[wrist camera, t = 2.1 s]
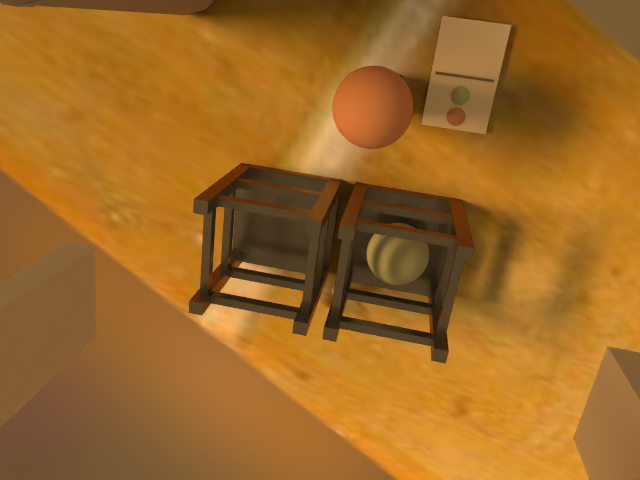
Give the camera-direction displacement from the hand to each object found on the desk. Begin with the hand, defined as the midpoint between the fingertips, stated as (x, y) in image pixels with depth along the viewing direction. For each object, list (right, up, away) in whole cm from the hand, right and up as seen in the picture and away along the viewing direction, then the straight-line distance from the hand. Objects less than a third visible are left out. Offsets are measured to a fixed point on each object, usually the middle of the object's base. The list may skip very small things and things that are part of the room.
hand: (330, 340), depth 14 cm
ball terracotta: (+3, +11, +20) cm, 23 cm away
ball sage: (+6, +1, +31) cm, 31 cm away
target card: (+11, +15, +28) cm, 34 cm away
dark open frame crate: (+7, +3, +34) cm, 34 cm away
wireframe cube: (-3, +4, +35) cm, 35 cm away
